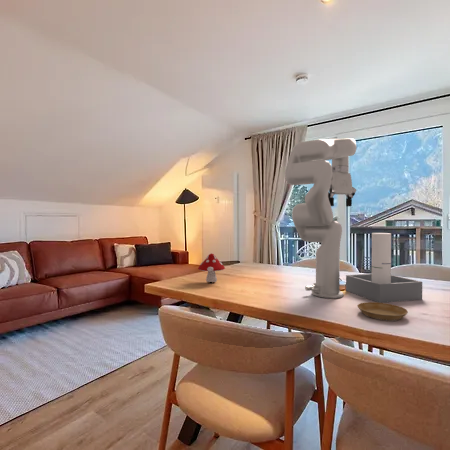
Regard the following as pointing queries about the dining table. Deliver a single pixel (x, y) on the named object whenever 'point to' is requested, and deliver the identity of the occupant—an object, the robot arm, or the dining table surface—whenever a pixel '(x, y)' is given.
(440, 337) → the dining table surface
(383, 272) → the cylindrical container
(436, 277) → the dining table surface
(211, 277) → the decorative mushroom
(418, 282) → the walled bin
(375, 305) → the plant saucer
